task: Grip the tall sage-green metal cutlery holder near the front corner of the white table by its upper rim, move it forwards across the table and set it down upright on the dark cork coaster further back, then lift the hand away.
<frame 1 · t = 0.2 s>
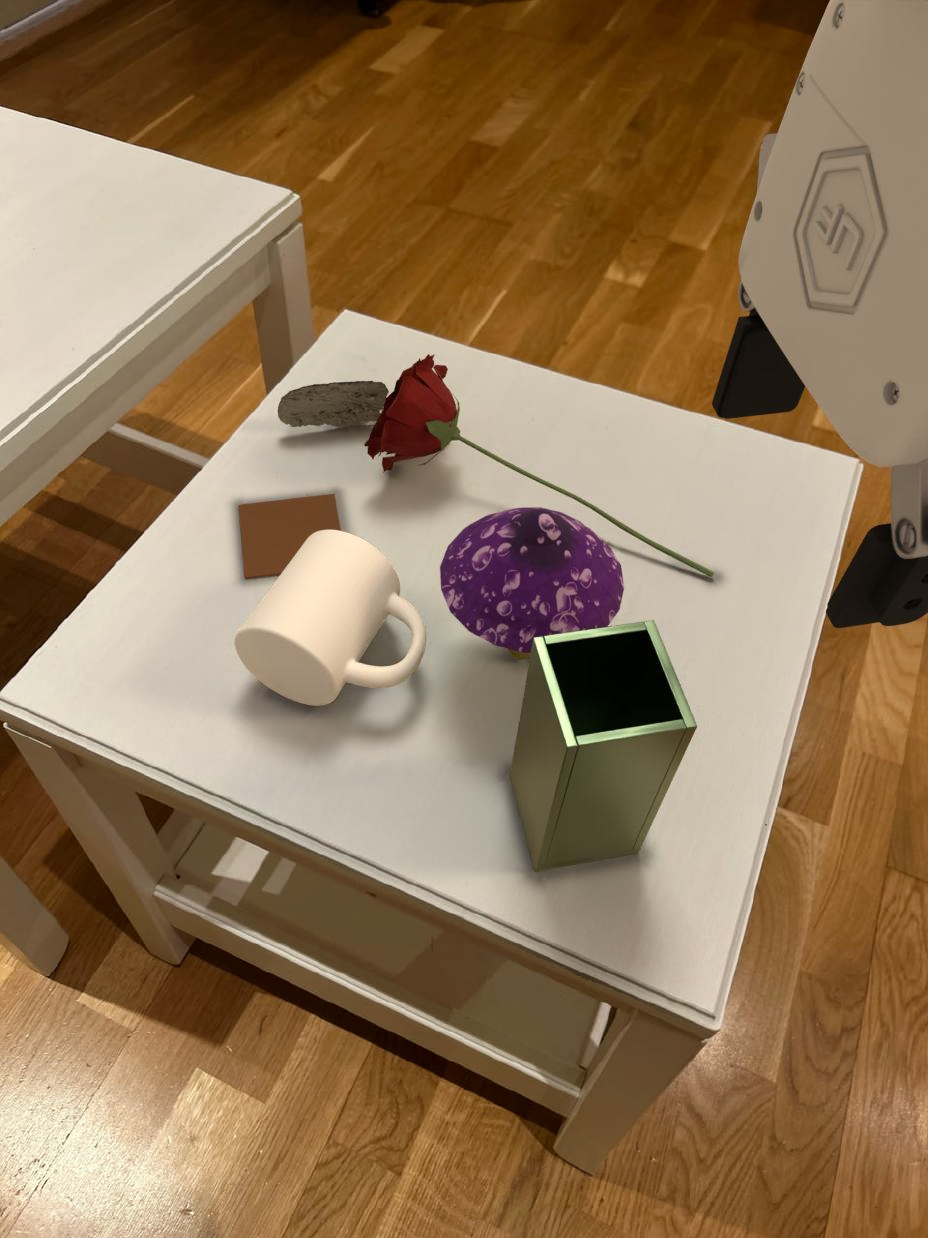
hand: (807, 503, 32), 35 cm above the table, tool pointing down, fingers open, 9 cm apart
cutlery holder: (572, 813, 62), on the table
decorative mushroom: (519, 655, 70), on the table
stone fragment: (334, 429, 84), on the table
mug: (348, 660, 69), on the table
coaster: (291, 535, 76), on the table
flower: (545, 511, 79), on the table
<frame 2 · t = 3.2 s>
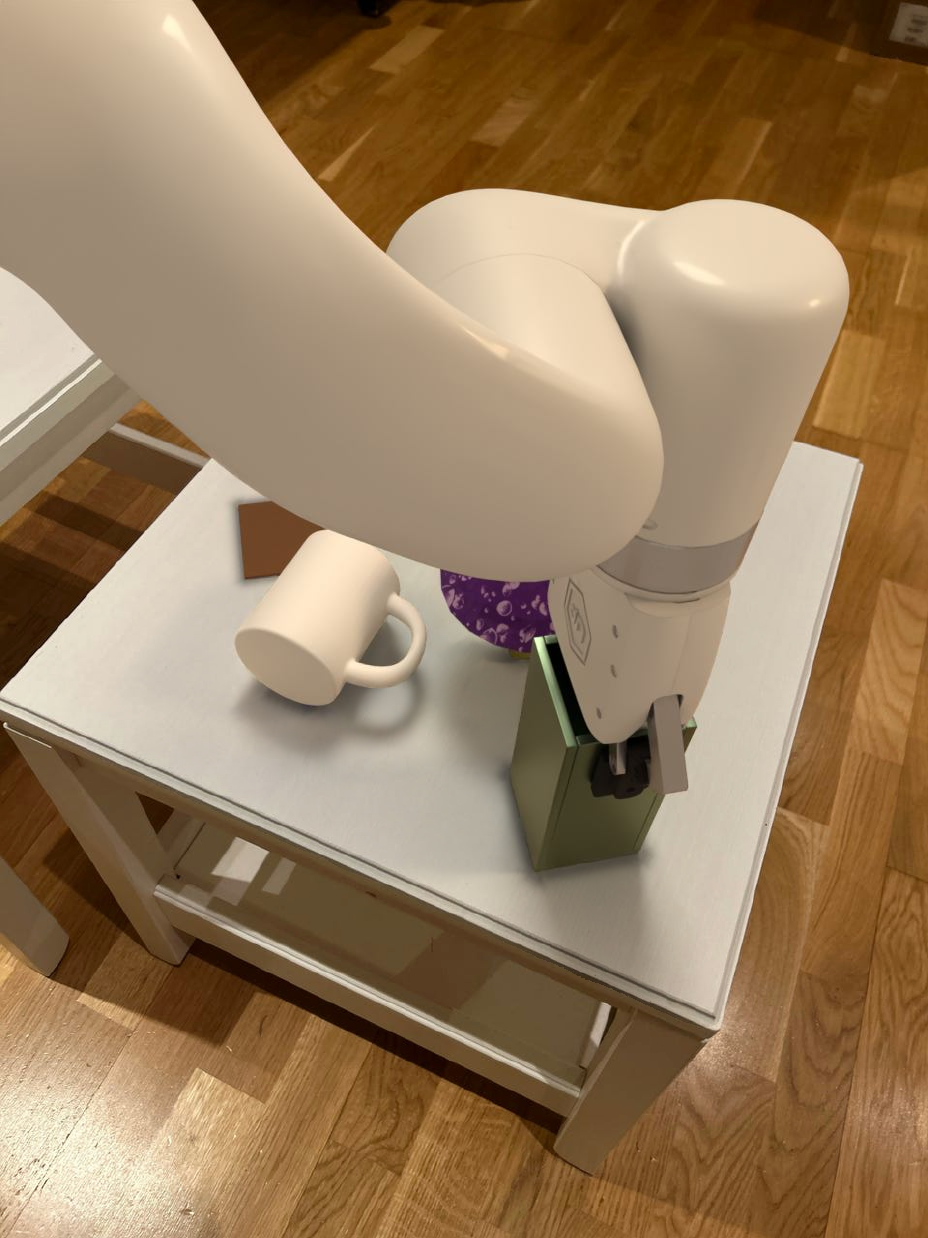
hand: (598, 727, 53), 11 cm above the table, tool pointing down, fingers closed on cutlery holder, 7 cm apart
cutlery holder: (572, 813, 62), on the table, touching gripper
everything else where it was.
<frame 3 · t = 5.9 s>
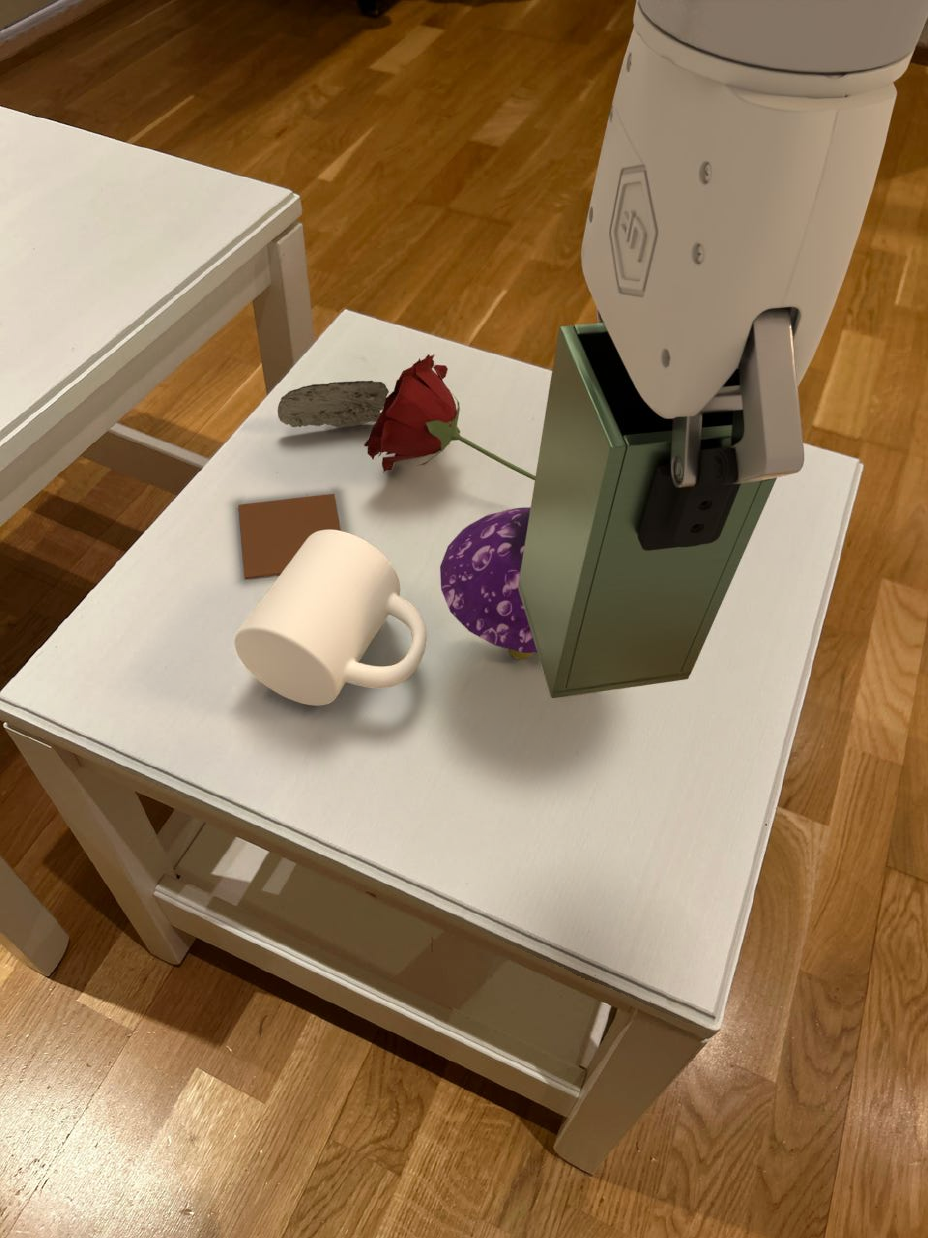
hand: (646, 469, 38), 30 cm above the table, tool pointing down, fingers closed on cutlery holder, 7 cm apart
cutlery holder: (600, 632, 47), point 19 cm above the table, touching gripper
everything else where it was.
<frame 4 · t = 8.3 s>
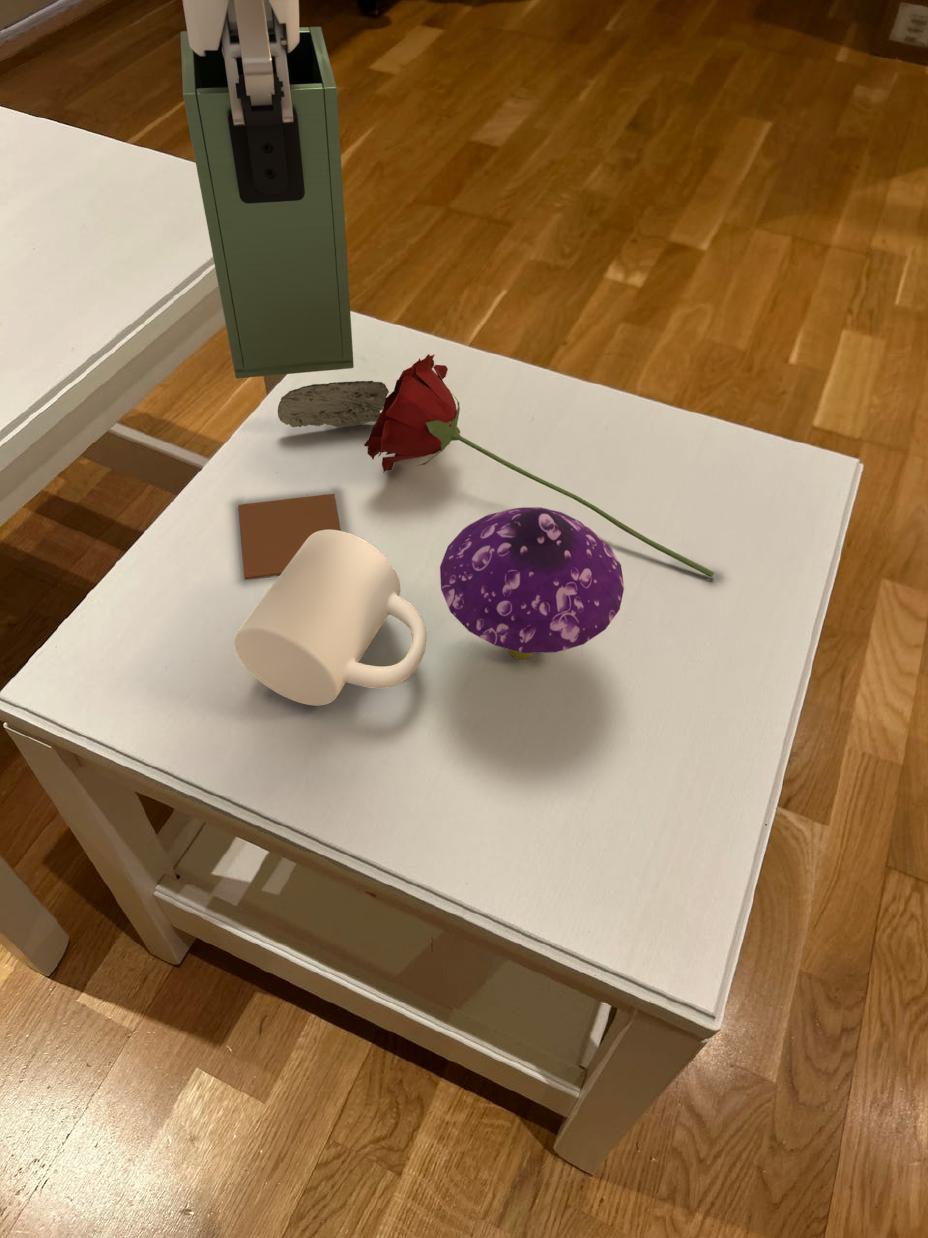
hand: (266, 157, 49), 32 cm above the table, tool pointing down, fingers closed on cutlery holder, 7 cm apart
cutlery holder: (290, 338, 58), point 21 cm above the table, touching gripper
everything else where it was.
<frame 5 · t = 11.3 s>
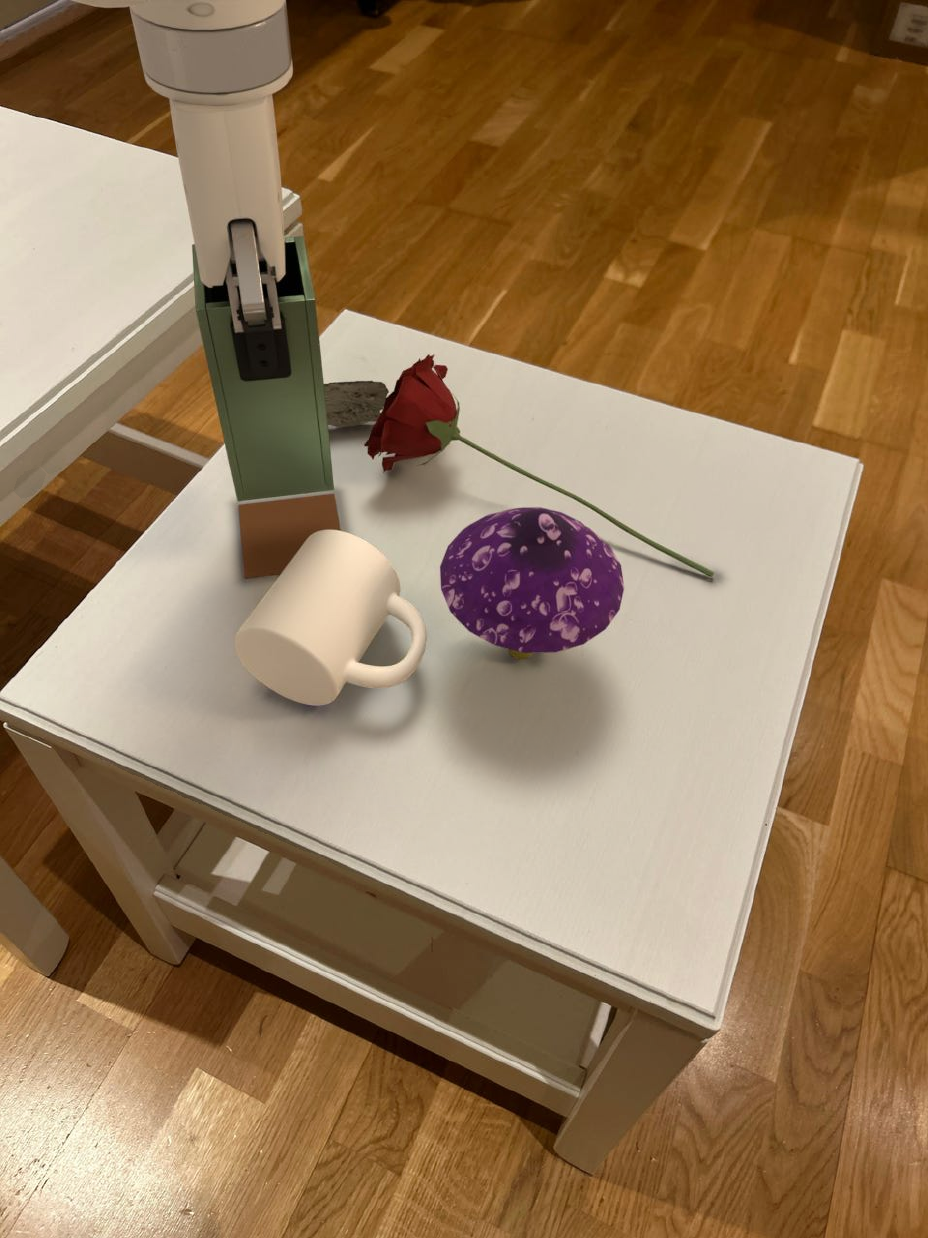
hand: (261, 337, 61), 19 cm above the table, tool pointing down, fingers closed on cutlery holder, 7 cm apart
cutlery holder: (282, 463, 70), point 8 cm above the table, touching gripper
everything else where it was.
when the fingers open (11 cm above the table, at t = 13.6 s): cutlery holder stays where it is, resting on coaster.
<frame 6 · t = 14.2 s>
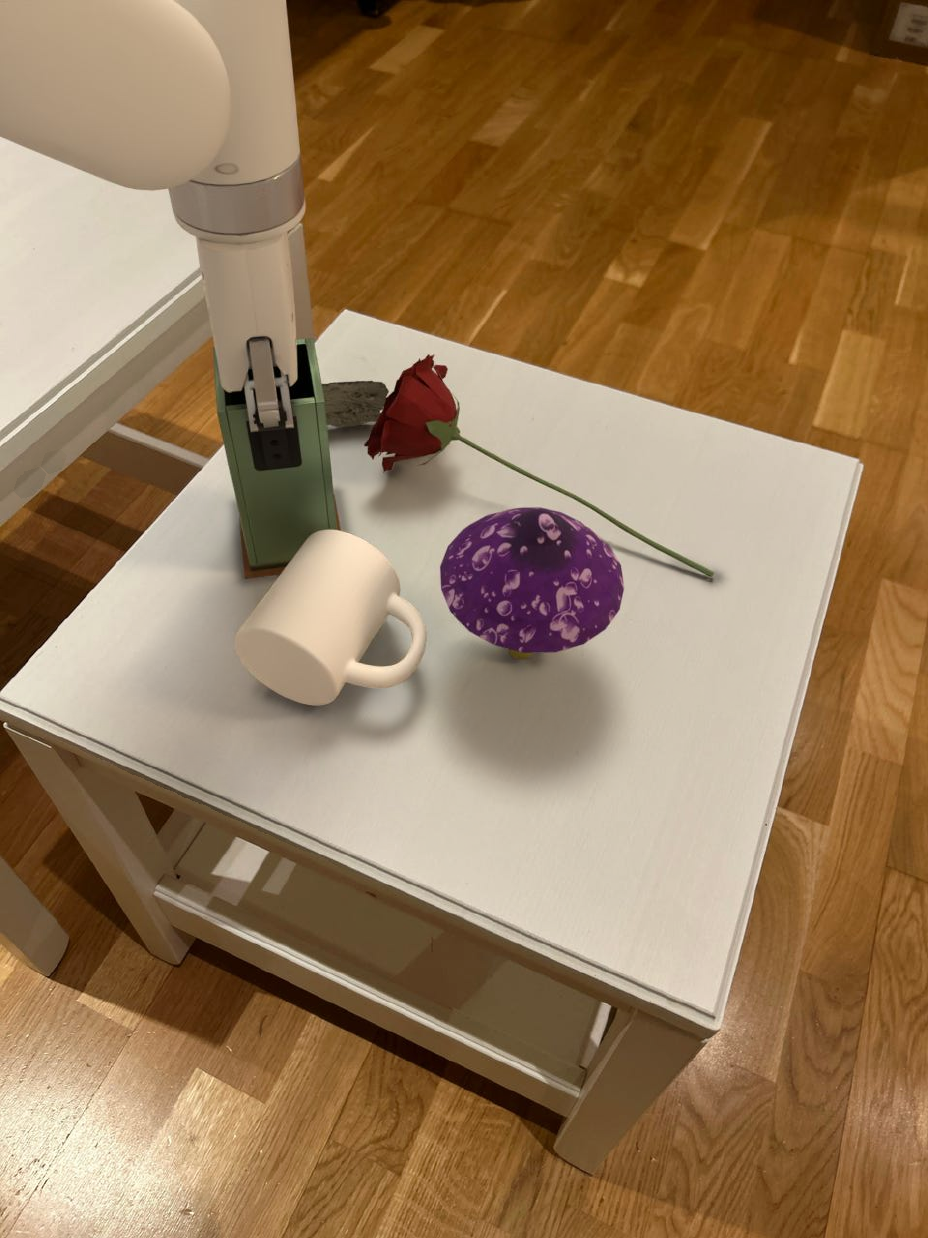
hand: (272, 419, 66), 12 cm above the table, tool pointing down, fingers open, 9 cm apart
cutlery holder: (291, 533, 76), resting on coaster
everything else where it was.
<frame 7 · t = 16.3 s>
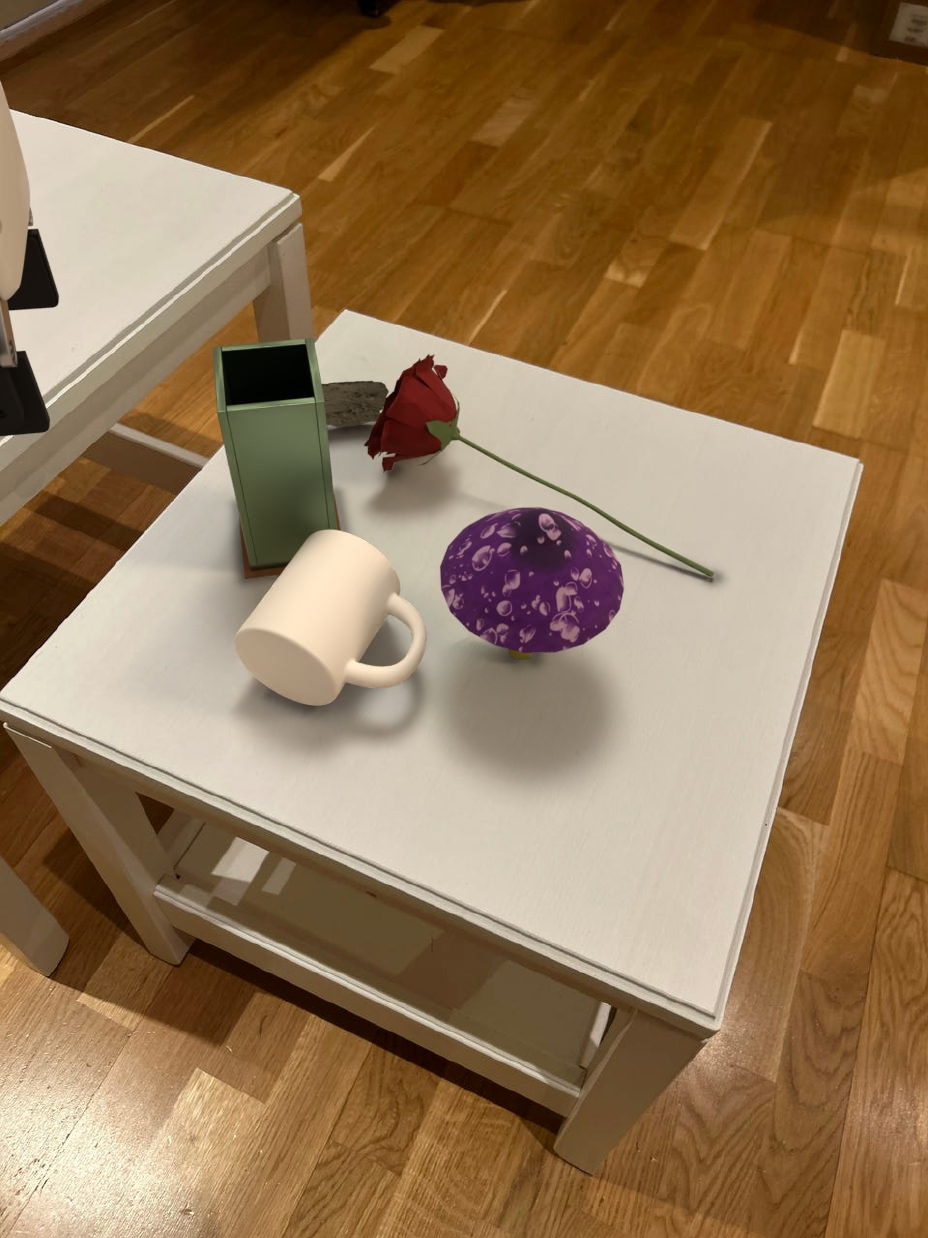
hand: (21, 364, 45), 28 cm above the table, tool pointing down, fingers open, 9 cm apart
nothing on the table moved.
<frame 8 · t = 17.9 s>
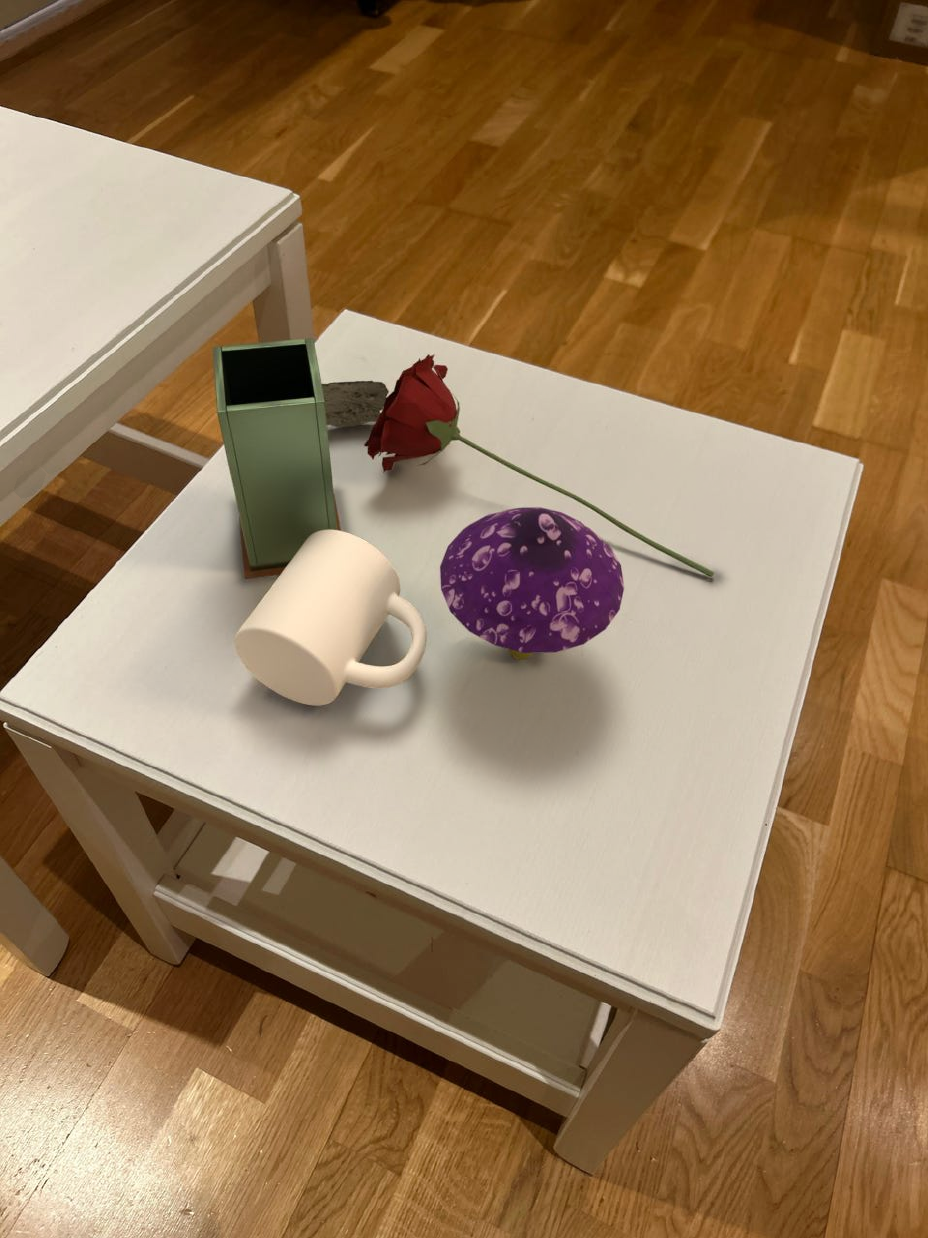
nothing on the table moved.
at the end: cutlery holder 0.1 cm off-centre on the coaster, point 0.2 cm above the coaster's base; cutlery holder tilted 0°; cutlery holder moved 32.2 cm from its start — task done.
